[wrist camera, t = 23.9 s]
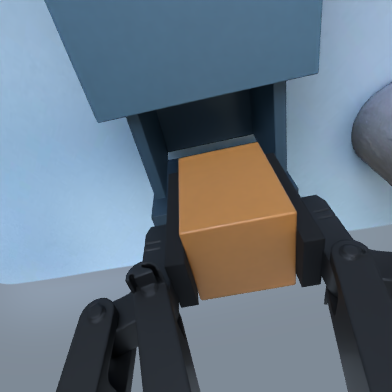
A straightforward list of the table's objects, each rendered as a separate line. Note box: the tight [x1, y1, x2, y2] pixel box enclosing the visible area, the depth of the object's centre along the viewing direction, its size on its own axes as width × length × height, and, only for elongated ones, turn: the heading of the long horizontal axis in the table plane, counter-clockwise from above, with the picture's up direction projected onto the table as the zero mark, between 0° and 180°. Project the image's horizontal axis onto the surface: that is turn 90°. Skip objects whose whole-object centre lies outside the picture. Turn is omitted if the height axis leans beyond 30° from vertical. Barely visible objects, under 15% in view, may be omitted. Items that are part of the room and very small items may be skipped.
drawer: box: [126, 81, 298, 226], centre depth 23 cm, size 19×12×9 cm, turn 12°
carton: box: [178, 142, 297, 300], centre depth 14 cm, size 4×4×6 cm
